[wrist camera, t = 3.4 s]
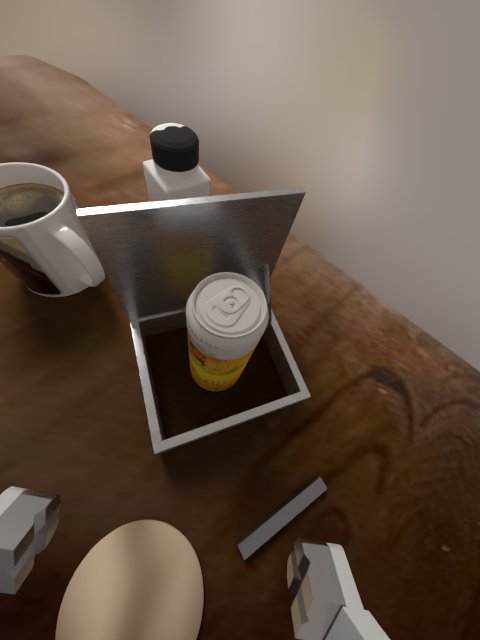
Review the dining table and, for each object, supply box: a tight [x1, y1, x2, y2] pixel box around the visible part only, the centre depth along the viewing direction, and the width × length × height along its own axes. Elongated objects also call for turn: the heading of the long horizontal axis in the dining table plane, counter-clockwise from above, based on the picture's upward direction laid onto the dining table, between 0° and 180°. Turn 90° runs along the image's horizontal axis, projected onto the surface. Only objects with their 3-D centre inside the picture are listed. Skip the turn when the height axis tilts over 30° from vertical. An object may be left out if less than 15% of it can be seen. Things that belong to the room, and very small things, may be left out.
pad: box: [56, 519, 204, 640], centre depth 20 cm, size 11×11×1 cm
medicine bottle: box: [143, 123, 211, 202], centre depth 37 cm, size 7×7×12 cm
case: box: [76, 188, 311, 454], centre depth 23 cm, size 16×14×18 cm
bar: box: [236, 476, 327, 560], centre depth 25 cm, size 10×1×1 cm, turn 121°
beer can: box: [186, 272, 269, 391], centre depth 24 cm, size 6×6×15 cm
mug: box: [0, 162, 105, 297], centre depth 29 cm, size 10×12×11 cm
